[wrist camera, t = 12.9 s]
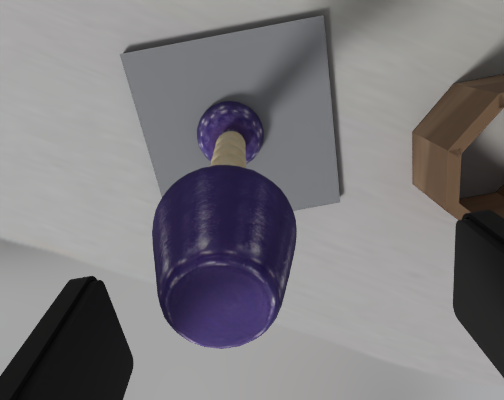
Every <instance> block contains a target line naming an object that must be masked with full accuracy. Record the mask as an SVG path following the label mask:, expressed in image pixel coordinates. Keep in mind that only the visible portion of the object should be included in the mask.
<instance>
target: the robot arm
mask: <svg viewBox="0 0 504 400" xmlns="http://www.w3.org/2000/svg"><path fill="white" fill-rule="evenodd" d="M453 308H454V312H455V315H456V317H457V318H458V320H459V321H460V323H461V324H462V325H463V326H464V328H465V329H466V330H467V331H468V333H469V334H470V335H471V337H472V338H473V339H474V340H475V342H476V343H477V344H478V346H479V347H480V348H481V349H482V351H483V352H484V353H485V354H486V356H487V357H488V358H489V360H490V361H491V362H492V363H493V365H494V366H495V367H496V369H497V370H498V371H499V372H500V374H501V375H502V376H503V377H504V218H502V217H501V216H499V215H498V214H496V213H495V212H493V211H491V210H483V211H477V212H471V213H465V214H464V215H463V217H462V220H458V221H457V223H456V235H455V263H454V291H453ZM132 369H133V357H132V354H131V351H130V349H129V346H128V343H127V341H126V338H125V336H124V333H123V331H122V328H121V325H120V323H119V320H118V318H117V315H116V313H115V310H114V308H113V305H112V303H111V300H110V297H109V295H108V292H107V290H106V287H105V285H104V283H103V281H101V280H98V281H97V279H96V278H95V277H94V276H89V277H83V278H77V279H72V280H70V281H69V282H68V283H67V284H66V285H65V287H64V288H63V290H62V291H61V292H60V294H59V295H58V297H57V298H56V299H55V301H54V302H53V304H52V305H51V306H50V308H49V309H48V310H47V312H46V313H45V315H44V316H43V317H42V319H41V320H40V322H39V323H38V324H37V326H36V327H35V329H34V330H33V331H32V333H31V334H30V336H29V337H28V339H27V340H26V341H25V343H24V344H23V345H22V347H21V348H20V349H19V351H18V352H17V354H16V355H15V357H14V358H13V359H12V361H11V362H10V363H9V365H8V366H7V368H6V369H5V370H4V372H3V373H2V374H1V376H0V400H123V397H124V394H125V391H126V388H127V385H128V382H129V379H130V375H131V373H132Z"/></svg>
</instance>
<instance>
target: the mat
mask: <svg viewBox="0 0 504 400" xmlns="http://www.w3.org/2000/svg"><path fill="white" fill-rule="evenodd" d="M120 56H121V60H122V63H123V66H124V70H125V73H126V77H127V80H128V83H129V87H130V90H131V93H132V97H133V100H134V104H135V107H136V110H137V114H138V117H139V120H140V124H141V127H142V131H143V134H144V137H145V141H146V144H147V148H148V151H149V154H150V158H151V161H152V164H153V168H154V171H155V175H156V178H157V181H158V185H159V188H160V192H161V195H162V197H163V195H164V194H165V193H166V191H167V190H168V189H169V188H170V187H171V186H172V185H173V184H174V183H175V182H176V181H177V180H179V179H180V178H182V177H183V176H185V175H186V174H188V173H191V172H193V171H195V170H198V169H200V168H203V167H210V165H211V161H209V160H208V159H207V158H206V157H205V155H204V154H203V153H202V151H201V149H200V147H199V144H198V140H197V127H198V124H199V121H200V118H201V117H202V115H203V114H204V112H205V111H206V110H207V109H209V108H210V107H211V106H213V105H215V104H217V103H220V102H224V101H235V102H240V103H242V104H244V105H247V106H248V107H250V108H251V109H252V110H253V111H254V112H255V113H256V114H257V115H258V117H259V118H260V121H261V123H262V126H263V130H264V139H263V144H262V146H261V149H260V151H259V153H258V154H257V155H256V157H255V158H254V159H253V160H252V161H250V162H249V163H247V164H246V168H247V169H251V170H254V171H256V172H258V173H260V174H262V175H263V176H265V177H266V178H268V179H270V180H271V181H272V182H274V183H275V184H276V185H277V186H278V187H279V188H280V189H281V190H282V191H283V193H284V194H285V196H286V197H287V199H288V201H289V203H290V205H291V207H292V209H293V211H295V210H300V209H305V208H311V207H316V206H322V205H327V204H333V203H338V202H340V194H339V183H338V171H337V160H336V149H335V137H334V126H333V115H332V103H331V92H330V80H329V69H328V58H327V46H326V35H325V24H324V15H321V16H316V17H311V18H306V19H300V20H295V21H290V22H285V23H279V24H274V25H269V26H264V27H259V28H253V29H248V30H243V31H238V32H232V33H227V34H222V35H217V36H212V37H206V38H201V39H196V40H191V41H185V42H180V43H175V44H170V45H165V46H159V47H154V48H149V49H144V50H138V51H133V52H128V53H123V54H120Z"/></svg>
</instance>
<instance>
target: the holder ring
mask: <svg viewBox="0 0 504 400" xmlns="http://www.w3.org/2000/svg"><path fill="white" fill-rule="evenodd" d="M503 108H504V74H502V75H497V76H492V77H486V78H481V79H476V80H470V81H465V82H460V83H454V84H453V85H452V86H451V87H450V89H449V90H448V91H447V92H446V93H445V94H444V96H443V97H442V98H441V99H440V100H439V101H438V103H437V104H436V105H435V106H434V107H433V109H432V110H431V111H430V112H429V113H428V114H427V116H426V117H425V118H424V119H423V120H422V121H421V123H420V124H419V125H418V126H417V127H416V128H415V130H414V131H413V132H412V149H413V185H415V186H416V187H417V188H418V189H420V190H421V191H422V192H423V193H425V194H426V195H427V196H428V197H429V198H431V199H432V200H433V201H434V202H436V203H437V204H438V205H439V206H441V207H442V208H443V209H444V210H446V211H447V212H448V213H450V214H451V215H452V216H454V217H455V218H456V219H458V220H462V217H463V215H464V214H465V213H471V212H477V211H483V210H491V211H493V212H495V213H496V214H498V215H499V216H501V217H502V218H504V185H503V186H502V187H501V188H500V189H499V190H498V191H497V192H495V193H490V194H484V195H479V196H473V197H468V198H462V199H459V194H460V174H461V155H462V153H463V151H464V150H465V149H466V148H467V147H468V146H469V145H470V144H471V143H472V142H473V141H474V140H475V138H476V137H477V136H478V135H479V134H480V133H481V132H482V131H483V130H484V129H485V128H486V126H487V125H488V124H489V123H490V122H491V121H492V120H493V119H494V118H495V117H496V116H497V115H498V113H499V112H500V111H501V110H502V109H503Z"/></svg>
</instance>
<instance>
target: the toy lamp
mask: <svg viewBox="0 0 504 400" xmlns="http://www.w3.org/2000/svg"><path fill="white" fill-rule="evenodd" d="M263 139H264V130H263V126H262V123H261V121H260V118H259V117H258V115H257V114H256V113H255V112H254V111H253V110H252V109H251V108H250V107H248V106H247V105H244V104H242V103H240V102H235V101H224V102H220V103H217V104H215V105H213V106H211V107H210V108H209V109H207V110H206V111H205V112H204V114H203V115H202V117H201V118H200V121H199V124H198V127H197V140H198V144H199V147H200V149H201V151H202V153H203V154H204V155H205V157H206V158H207V159H208V160H209V161H211V165H210V167H203V168H200V169H198V170H195V171H193V172H191V173H188V174H186V175H185V176H183V177H182V178H180V179H179V180H177V181H176V182H175V183H174V184H173V185H172V186H171V187H170V188H169V189H168V190H167V191H166V193H165V194H164V195H163V197H162V199H161V201H160V203H159V205H158V207H157V209H156V212H155V216H154V221H153V230H152V237H153V251H154V261H155V271H156V282H157V292H158V298H159V302H160V306H161V309H162V312H163V315H164V317H165V319H166V320H167V322H168V323H169V324H170V326H172V328H173V329H174V330H175V331H176V332H177V333H178V334H180V335H181V336H182V337H184V338H185V339H187V340H188V341H190V342H192V343H195V344H198V345H201V346H204V347H211V348H220V349H222V348H231V347H237V346H241V345H243V344H246V343H248V342H250V341H252V340H254V339H256V338H258V337H259V336H261V335H262V334H263V333H264V332H265V331H267V329H268V328H269V327H270V326H271V325H272V323H273V322H274V321H275V319H276V317H277V315H278V312H279V310H280V308H281V305H282V302H283V298H284V294H285V290H286V285H287V282H288V278H289V274H290V269H291V265H292V260H293V256H294V250H295V244H296V220H295V216H294V213H293V209H292V207H291V205H290V203H289V201H288V199H287V197H286V196H285V194H284V193H283V191H282V190H281V189H280V188H279V187H278V186H277V185H276V184H275V183H274V182H272V181H271V180H270V179H268V178H266V177H265V176H263V175H262V174H260V173H258V172H256V171H254V170H251V169H247V168H246V164H247V163H249V162H250V161H252V160H253V159H254V158H255V157H256V155H257V154H258V153H259V151H260V149H261V146H262V144H263Z"/></svg>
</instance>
